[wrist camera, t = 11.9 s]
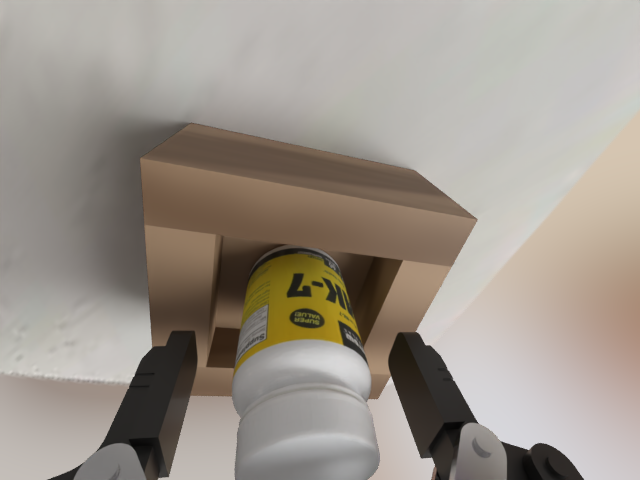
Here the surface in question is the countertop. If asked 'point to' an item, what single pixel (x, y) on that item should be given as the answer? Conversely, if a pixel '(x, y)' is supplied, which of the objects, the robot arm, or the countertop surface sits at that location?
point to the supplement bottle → (301, 374)
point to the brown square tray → (287, 239)
